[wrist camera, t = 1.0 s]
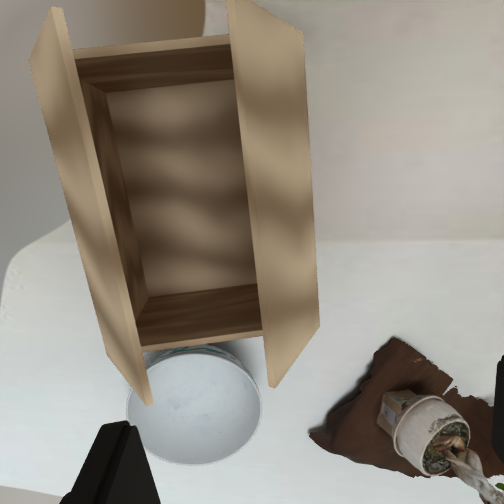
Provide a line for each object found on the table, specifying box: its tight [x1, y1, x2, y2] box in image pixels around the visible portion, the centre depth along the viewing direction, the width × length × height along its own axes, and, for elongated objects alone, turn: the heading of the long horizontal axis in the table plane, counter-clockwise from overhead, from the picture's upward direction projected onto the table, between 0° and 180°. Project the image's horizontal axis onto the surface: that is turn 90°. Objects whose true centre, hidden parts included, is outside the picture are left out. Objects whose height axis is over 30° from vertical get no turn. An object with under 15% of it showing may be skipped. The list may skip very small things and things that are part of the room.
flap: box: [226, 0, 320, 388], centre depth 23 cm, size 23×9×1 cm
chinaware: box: [126, 344, 262, 466], centre depth 41 cm, size 15×15×8 cm
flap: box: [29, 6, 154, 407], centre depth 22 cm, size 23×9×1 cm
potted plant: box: [309, 338, 504, 504], centre depth 40 cm, size 20×19×25 cm
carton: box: [72, 28, 296, 352], centre depth 32 cm, size 24×18×12 cm
